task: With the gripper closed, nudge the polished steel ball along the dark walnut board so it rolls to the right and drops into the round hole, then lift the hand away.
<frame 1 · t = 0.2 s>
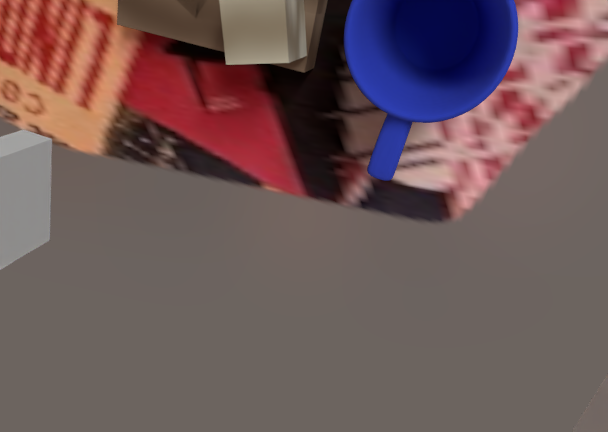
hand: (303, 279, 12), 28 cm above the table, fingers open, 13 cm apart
maple cube: (275, 24, 35), point 2 cm above the table, touching deck
mug: (426, 56, 36), on the table
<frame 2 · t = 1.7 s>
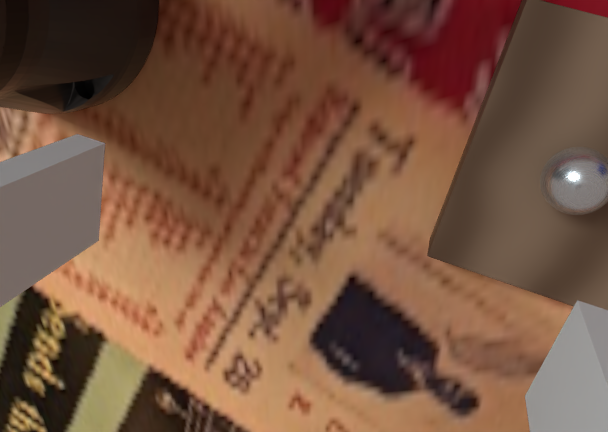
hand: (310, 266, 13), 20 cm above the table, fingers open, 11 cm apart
ball: (576, 180, 25), point 4 cm above the table, touching deck
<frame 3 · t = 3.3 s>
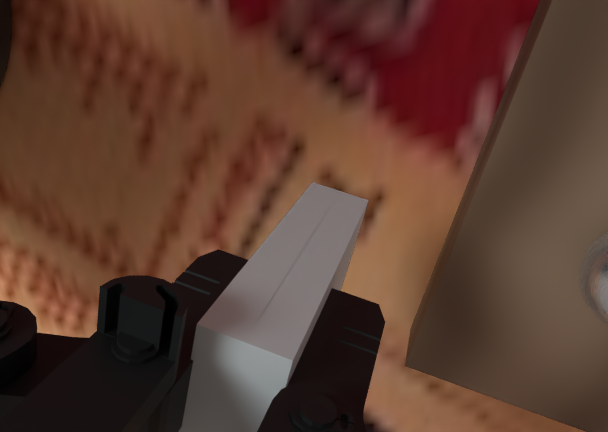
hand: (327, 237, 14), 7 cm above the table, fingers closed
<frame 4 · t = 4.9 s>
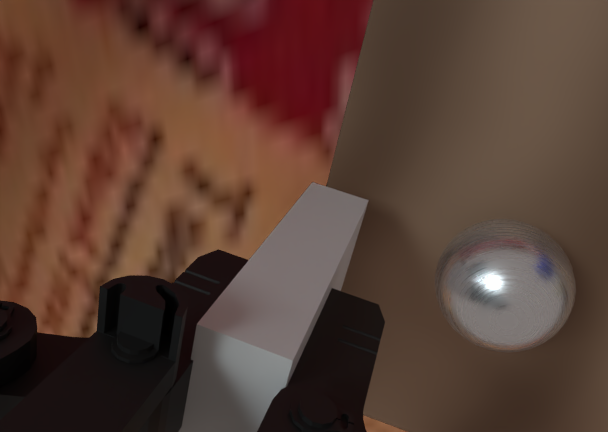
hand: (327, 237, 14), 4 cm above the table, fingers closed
ball: (502, 284, 13), point 4 cm above the table, touching deck
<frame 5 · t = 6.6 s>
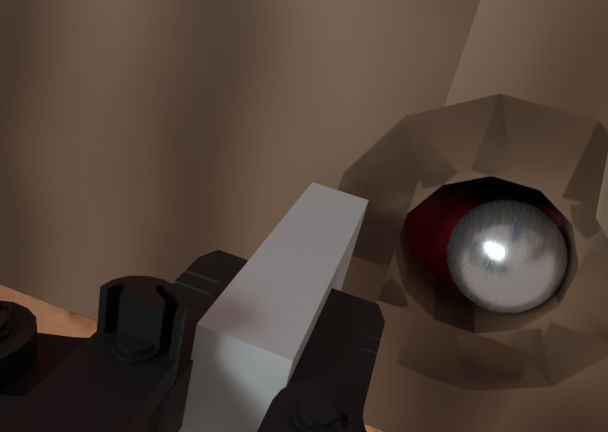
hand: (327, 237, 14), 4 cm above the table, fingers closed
ball: (505, 255, 15), point 2 cm above the table, tilted 91°
deck: (328, 176, 18), on the table
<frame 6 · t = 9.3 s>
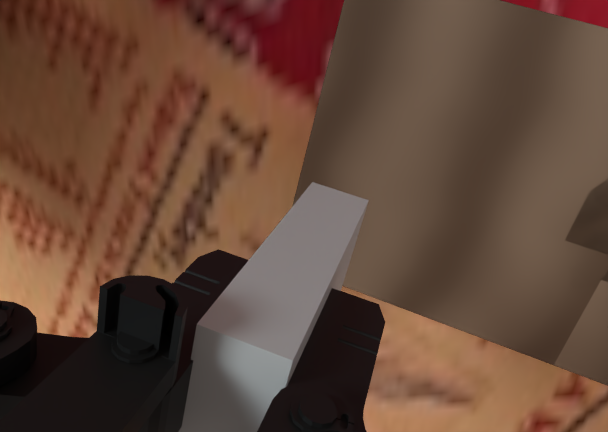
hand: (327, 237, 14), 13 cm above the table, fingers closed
deck: (552, 192, 24), on the table
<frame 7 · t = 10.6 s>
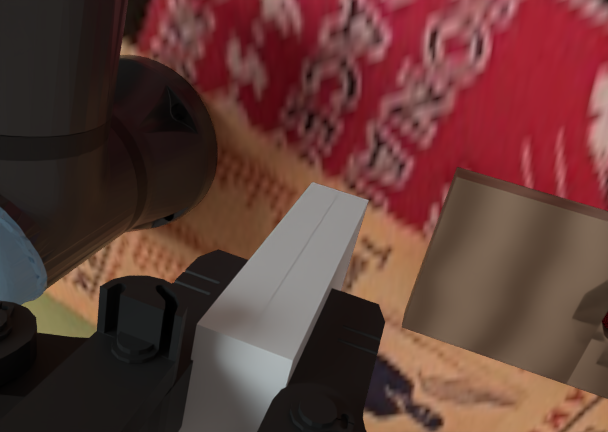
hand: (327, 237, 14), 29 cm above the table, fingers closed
deck: (563, 287, 43), on the table
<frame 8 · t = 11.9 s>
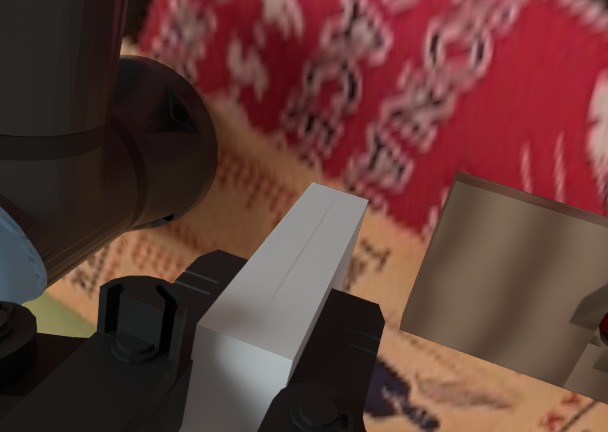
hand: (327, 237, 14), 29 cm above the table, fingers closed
deck: (561, 291, 43), on the table
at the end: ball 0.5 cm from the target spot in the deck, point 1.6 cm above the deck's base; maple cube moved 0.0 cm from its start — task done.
